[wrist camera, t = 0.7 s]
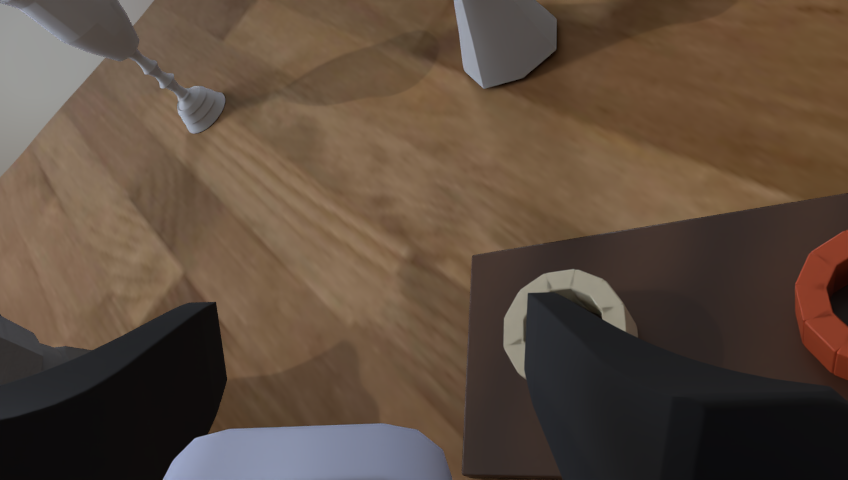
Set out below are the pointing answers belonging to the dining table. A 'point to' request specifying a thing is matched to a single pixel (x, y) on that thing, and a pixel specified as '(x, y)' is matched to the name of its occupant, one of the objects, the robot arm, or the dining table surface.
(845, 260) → the red ring
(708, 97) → the dining table surface
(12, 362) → the coffeepot
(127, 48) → the chalice
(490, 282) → the ring board
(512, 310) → the cream ring
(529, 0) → the flask
